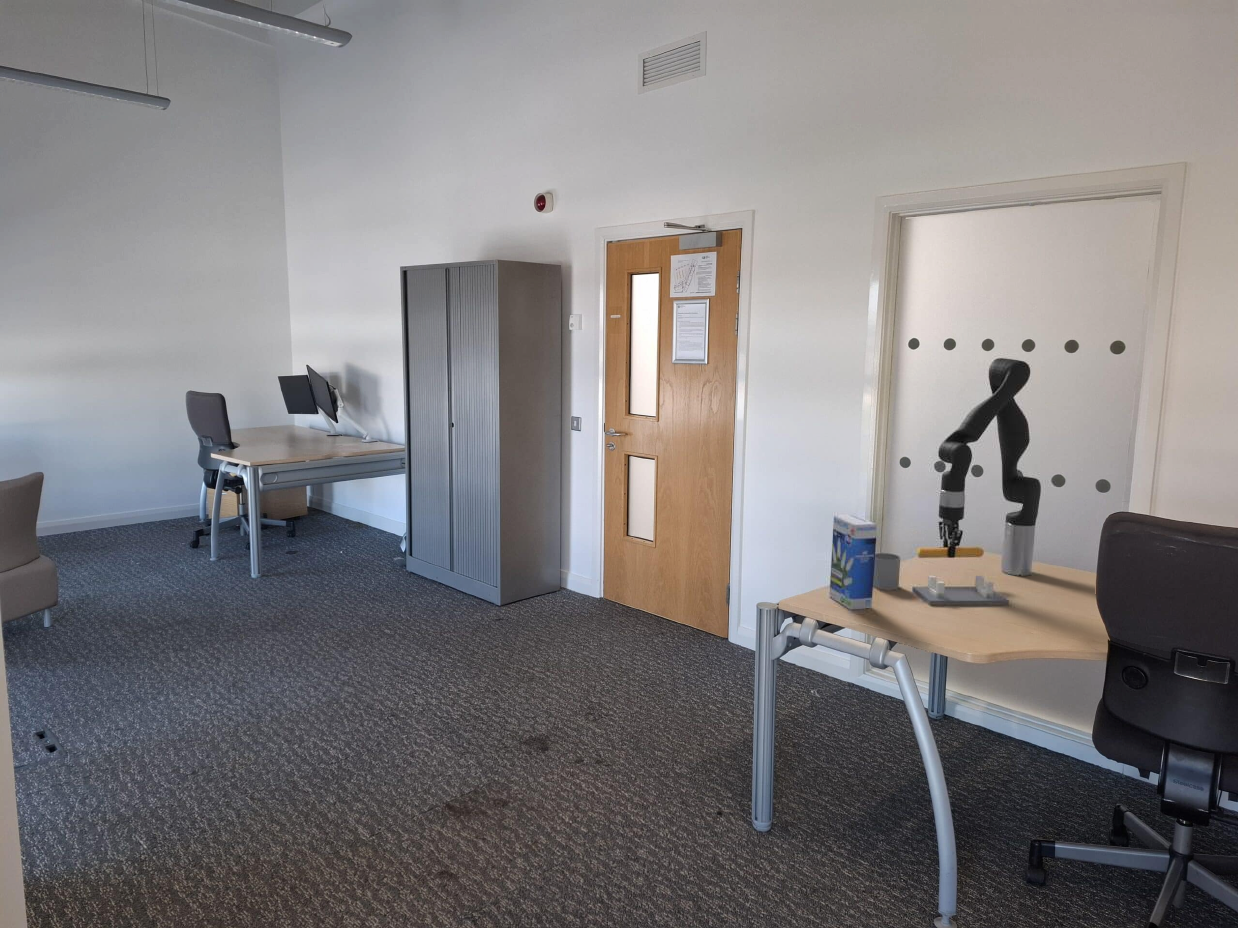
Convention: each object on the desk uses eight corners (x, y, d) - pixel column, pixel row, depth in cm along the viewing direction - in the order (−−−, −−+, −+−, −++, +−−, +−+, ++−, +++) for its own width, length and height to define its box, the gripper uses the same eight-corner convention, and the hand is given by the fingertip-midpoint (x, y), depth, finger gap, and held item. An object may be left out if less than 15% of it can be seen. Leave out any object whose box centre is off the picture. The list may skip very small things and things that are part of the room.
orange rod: (921, 559, 267) (921, 549, 267) (917, 556, 270) (917, 546, 270) (985, 558, 268) (985, 548, 267) (980, 555, 271) (981, 545, 270)
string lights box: (828, 596, 257) (832, 515, 253) (850, 594, 259) (854, 513, 255) (850, 610, 244) (855, 524, 240) (873, 608, 246) (878, 523, 242)
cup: (889, 592, 262) (891, 561, 260) (866, 586, 268) (868, 556, 266) (903, 586, 267) (905, 556, 266) (880, 581, 273) (882, 551, 272)
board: (912, 591, 263) (913, 572, 262) (987, 591, 263) (988, 572, 263) (929, 605, 249) (931, 586, 248) (1008, 605, 250) (1010, 586, 249)
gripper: (973, 508, 259) (969, 561, 262) (954, 499, 273) (951, 550, 276) (949, 508, 259) (946, 562, 262) (931, 499, 273) (928, 550, 276)
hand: (948, 555), depth 269 cm, fingers closed on orange rod, 3 cm apart
